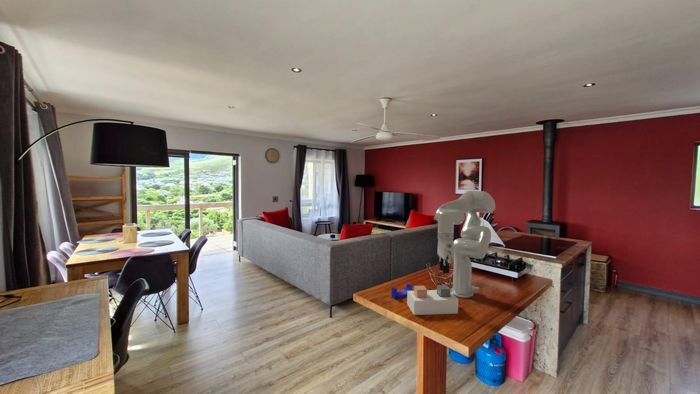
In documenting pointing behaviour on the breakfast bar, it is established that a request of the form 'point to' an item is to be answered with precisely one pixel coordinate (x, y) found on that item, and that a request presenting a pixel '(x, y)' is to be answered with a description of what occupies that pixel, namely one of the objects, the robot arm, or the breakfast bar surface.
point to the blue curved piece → (400, 294)
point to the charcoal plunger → (443, 291)
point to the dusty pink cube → (420, 291)
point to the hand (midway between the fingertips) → (444, 271)
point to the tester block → (432, 303)
